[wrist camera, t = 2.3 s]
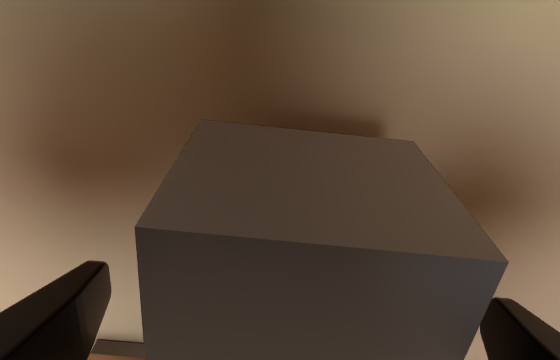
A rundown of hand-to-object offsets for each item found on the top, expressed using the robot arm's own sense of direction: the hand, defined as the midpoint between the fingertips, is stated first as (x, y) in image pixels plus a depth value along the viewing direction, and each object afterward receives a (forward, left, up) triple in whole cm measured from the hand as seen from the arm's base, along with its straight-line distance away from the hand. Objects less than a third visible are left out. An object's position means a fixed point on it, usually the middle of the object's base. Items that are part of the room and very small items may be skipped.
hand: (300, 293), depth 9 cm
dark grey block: (0, 0, -5) cm, 5 cm away
